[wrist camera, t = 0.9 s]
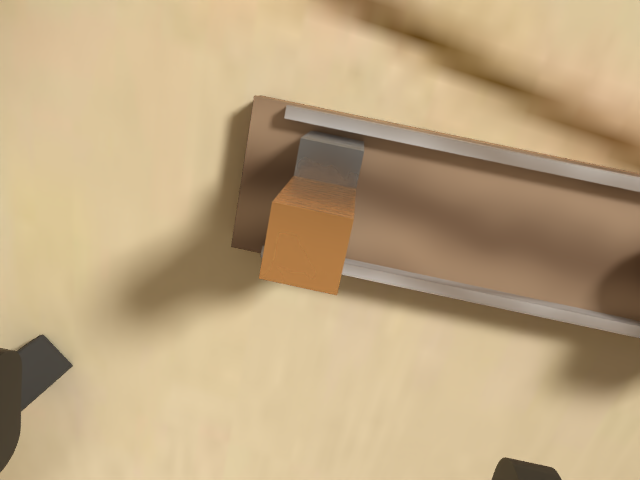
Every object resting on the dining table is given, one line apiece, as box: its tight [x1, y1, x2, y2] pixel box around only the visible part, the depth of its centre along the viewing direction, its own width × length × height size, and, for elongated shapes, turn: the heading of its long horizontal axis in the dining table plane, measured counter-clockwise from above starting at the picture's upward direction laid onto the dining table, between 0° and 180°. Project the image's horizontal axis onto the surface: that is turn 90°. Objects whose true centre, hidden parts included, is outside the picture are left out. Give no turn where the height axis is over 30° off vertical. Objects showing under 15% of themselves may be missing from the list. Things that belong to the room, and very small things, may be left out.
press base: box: [231, 96, 640, 338], centre depth 27 cm, size 9×34×8 cm, turn 79°
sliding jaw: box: [259, 130, 364, 295], centre depth 24 cm, size 7×3×11 cm, turn 169°
